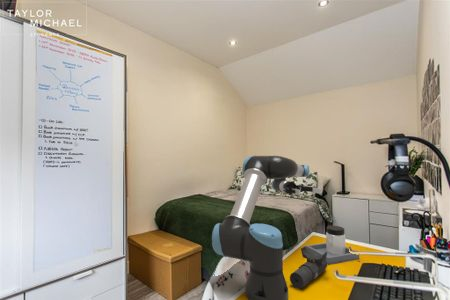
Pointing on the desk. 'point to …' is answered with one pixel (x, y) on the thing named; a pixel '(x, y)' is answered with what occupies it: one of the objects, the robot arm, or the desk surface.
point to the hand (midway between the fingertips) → (310, 192)
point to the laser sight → (308, 269)
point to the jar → (335, 240)
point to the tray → (331, 259)
